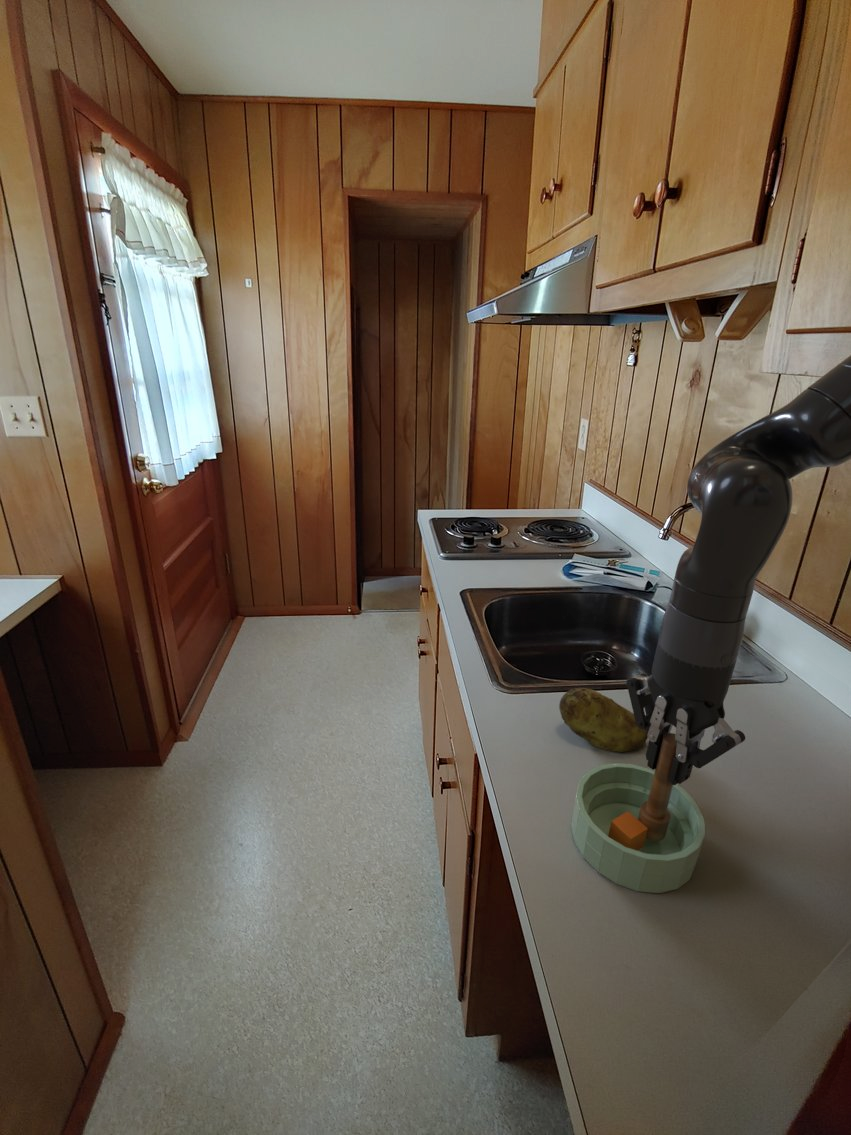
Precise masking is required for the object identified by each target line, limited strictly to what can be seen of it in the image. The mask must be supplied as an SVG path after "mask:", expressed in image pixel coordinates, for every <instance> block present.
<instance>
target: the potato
mask: <svg viewBox="0 0 851 1135" xmlns="http://www.w3.org/2000/svg"><path fill="white" fill-rule="evenodd" d="M558 707H559V712H560V716H561V719H562V721H563V723H564V724H565V725H566V726H568V728H569V729H570V730H571V731H572V732H573V733H574V734H576V735H577V736H579V737H581V738H584V740H586V741H587V742H588V743H589V744H590V745H591V746H593V747H595V748H598V749H600V750H603V751H609V752H617V753H622V752H623V753H624V752H630V751H634V750H637V749H640V748H642V747H643V746H644V745H645V744H646V742H647V740H648V739H649V738H648V733H647V732H646V731H645V729H640V728H639V727H638V726H637V725H636V721H635V717H634V713H633V711H632V712H631V710H628V708H626V707H624V706H622V705H621V704H619V703H617V702H616V701H614V699H612V698H610V697H608V696H606V695H604V694H601V693H600V692H598V691H596V690H594V689H591V688H588V687H587V688H586V687H572V688H570V689H569V690H568V691H566V692H565V693H564V694H563V695H562V696H561V698H560V700H559V704H558Z"/></svg>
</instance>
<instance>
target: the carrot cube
mask: <svg viewBox="0 0 851 1135" xmlns="http://www.w3.org/2000/svg"><path fill="white" fill-rule="evenodd" d="M647 830H648V828H647V827H646V826H645V825H644V824H642V823H641V822H640V821H639V820H638V819H637V818H635V817H634V816H633V815H632V814H631V813H630V812H628V811H627V812H626V813H624V814H622V815H621V816H619V817H617V818H616V819H614V820H612V821H611V825H610V830H609V835H608V837H609V838H611V839H613V840H615V841H616V842H618V843H620V844H621V845H623V846H625V847H627V848H630V849H633V850H636V851H637V850H638V849H640V848H642V847H643V846H644V842H645V838H646V834H647Z"/></svg>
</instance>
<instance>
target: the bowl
mask: <svg viewBox="0 0 851 1135" xmlns="http://www.w3.org/2000/svg"><path fill="white" fill-rule="evenodd" d="M654 773H655V770H653V769H651V768H648V767H644V766H641V765H636V764H632V763H623V762H622V763H620V762H619V763H618V762H614V763H613V762H612V763H607V764H602V765H601V764H600V765H598V766H596V767H594V768H593V769H590V770H589V771H587V772H586V773H585V774H584V775H583V777H582V778H581V779H580V780H579V781H578V785H577V789H576V794H575V800H574V805H573V811H572V817H571V822H570V823H571V824H570V827H571V832H572V838H573V842H574V844H575V846H576V847H577V849H578V851H579V853H580V855H581V856H582V857H583V859H584V860H585V861H586V862H587V863H588V864H589V865H590V866H591V867H592V868H593V869H594V870H595V871H596V872H597V873H599V874H600V875H602V876H603V877H605V878H606V879H608V880H610V881H611V882H613V883H614V884H616V885H618V886H620V887H624V888H627V889H629V890H633V891H635V892H639V893H652V894H662V893H666V892H671V891H675V890H678V889H680V888H681V887H682V886H683V885H684V884H686V883H687V882H688V881H690V880H691V878H692V875H693V873H694V871H695V869H696V867H697V863H698V860H699V856H700V853H701V850H702V847H703V844H704V842H705V841H704V840H705V837H706V823H705V822H706V821H705V818H704V816H703V813H702V811H701V810H700V807H699V806H698V804H697V802H696V801H695V800H694V798H692V796H691V795H690V794H689V793H688V792H687V791H686V790H685V789H684V788H682V787H681V786H680V784H676V785H673V788H672V791H671V795H670V799H669V803H668V807H667V809H668V810H669V812H670V815H671V818H670V821H669V825H668V829H667V833H666V836H665V838H664V839H663V840H661V841H651V840H648V839H646V838H645V842H644V846H643V847H642V848H640V849H638V850H637V851H636V850H633V849H630V848H627V847H625V846H623V845H621V844H620V843H618V842H616V841H615V840H613V839H611V838H609V837H608V835H609V830H610V825H611V821H612V820H614V819H616V818H617V817H619V816H621V815H622V814H624V813H626V812H627V811H628V812H630V813H631V814H632V815H633V816H634V817H635V818H637V819H638V816H639V811H640V807H641V805H642V803H643V802H645V801H648V797H649V793H650V789H651V785H652V781H653V777H654Z"/></svg>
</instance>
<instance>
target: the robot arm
mask: <svg viewBox="0 0 851 1135" xmlns="http://www.w3.org/2000/svg"><path fill="white" fill-rule="evenodd" d="M850 460H851V354H850V355H849V356H847V357H846V358H845V359H844V360H842V361H841V362H839V363H838V364H837V365H835V366H834V367H833V368H831V369H830V370H829V371H827V372H826V373H825V374H824V375H822V376H820V378H818V379H817V380H816V381H814V382H813V383H812V384H810V385H809V386H808V387H807V388H806V389H804V390H803V391H802V392H800V393H799V394H798V395H797V396H796V397H794V398H793V399H792V400H791V401H790V402H788V403H786V404H785V405H783V406H782V407H781V408H779V409H777V410H775V411H773V412H771V413H769V414H767V415H765V416H763V417H761V418H759V419H758V420H756V421H754V422H752V423H751V424H749V425H746V426H745V427H744V428H742V429H741V430H738V431H737V432H735V433H733V434H732V435H730V436H729V437H727V438H725V439H724V440H722V441H720V442H719V443H718V444H715V446H714V447H712V448H711V449H710V450H708V452H706V453H705V454H704V455H703V456H702V457H701V458H700V459H699V460H698V461H697V463H696V464H694V466H693V468H692V469H691V471H690V473H689V476H688V478H687V482H686V492H687V497H688V499H689V501H690V503H691V504H692V506H693V508H694V509H695V510H697V511H698V512H699V514H700V515H701V517H700V518H701V519H700V524H699V529H698V531H697V535H696V538H695V541H694V543H693V545H692V546H690V547H687V549H685V550H683V552H682V554H681V556H680V558H679V560H678V563H677V565H676V570H675V574H674V579H673V581H672V582H673V583H672V588H671V592H670V596H669V601H668V603H667V607H666V609H665V611H664V614H663V616H662V621H661V625H660V628H659V634H658V639H657V643H656V648H655V652H654V653H655V654H654V657H653V662H652V667H651V674H649V676H648V675H647V674H645V673H640V674H637V675H635V676H633V677H631V678H628V679H627V680H626V687H627V691H628V695H629V696H628V697H629V700H630V704H631V709H632V713H633V714H634V717H635V721H636V725H637V726H638V727H639V728H640V729H645V731H646V732H647V733H648V738H647V739H648V743H647V748H646V751H645V760H646V761H647V767H648V768H649V769H650V770H653V771H655V769H656V764H657V760H658V756H659V752H660V748H661V744H662V740H663V736H664V735H665V734H666V733H671V731H672V729H673V727H674V728H675V734H676V735H675V741H677V748H676V756H675V757H674V758H673V762H672V766H671V770H670V774H669V778H668V781H669V782H670V783H671V784H673V785H676V784H677V785H681V784H682V783H684V782H685V781H687V780H688V779H690V778H691V775H692V770H693V768H696V769H701V768H704V766H706V765H708V764H710V763H711V762H713V761H715V760H716V759H718V758H719V757H721V756H722V755H724V754H726V753H727V752H729V751H731V750H732V749H733V748H735V747H737V746H739V745H740V744H741V743H743V742H745V740H746V735H745V733H744V732H743V731H741V730H740V729H736V730H734V729H733V728H732V727H731V726H730V725H729V723H728V722H727V721H726V720H725V716H726V712H725V707H724V701H725V699H726V696H727V694H728V692H729V688H730V686H731V681H732V678H733V675H734V670H735V667H736V664H737V661H738V657H739V653H740V650H741V646H742V643H743V639H744V635H745V627H746V626H745V625H746V619H747V615H748V611H749V609H750V608H749V607H750V604H751V601H752V597H753V594H754V591H755V586H756V582H757V577H758V576H759V574H760V573H761V571H762V570H763V568H764V567H765V566H766V564H767V562H768V561H769V559H770V557H771V555H772V553H773V552H774V550H775V548H776V546H777V545H778V543H779V541H780V539H781V537H782V535H783V534H784V532H785V529H786V527H787V525H788V521H789V519H790V517H791V512H792V507H793V495H794V494H793V487H792V483H791V481H790V480H791V479H793V478H794V477H797V476H798V475H799V474H802V473H804V472H805V471H808V470H810V469H814V468H832V467H833V468H834V467H838V466H840V465H842V464H843V465H844V464H845V463H846V462H848V461H850ZM711 727H713V728H714V732H713V733H712V738H711V742H712V744H711V745H709V746H708V747H706V748H704V749H701V742H702V739H703V738H704V736H705V731H706V729H709V728H711Z"/></svg>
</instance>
